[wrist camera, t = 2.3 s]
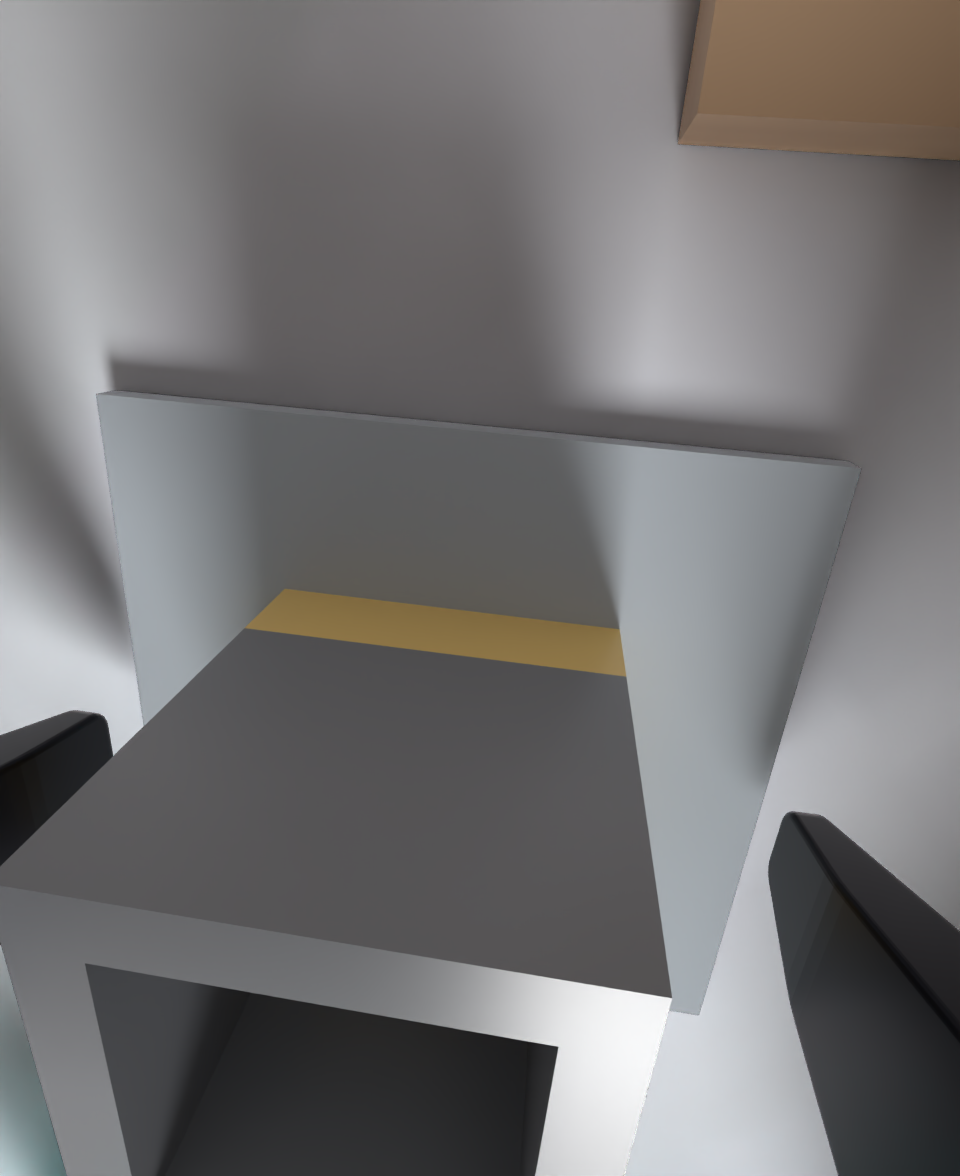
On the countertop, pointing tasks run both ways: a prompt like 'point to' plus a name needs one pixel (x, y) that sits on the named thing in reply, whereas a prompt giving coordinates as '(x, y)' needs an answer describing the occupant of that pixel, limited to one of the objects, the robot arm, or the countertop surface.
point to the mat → (505, 580)
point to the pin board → (826, 77)
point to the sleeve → (353, 910)
